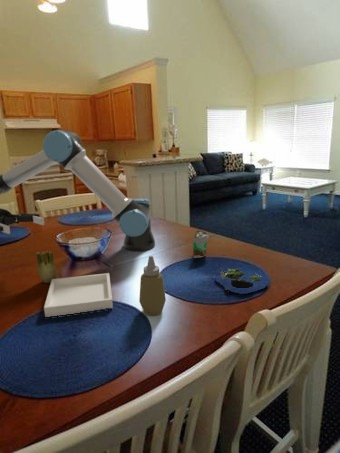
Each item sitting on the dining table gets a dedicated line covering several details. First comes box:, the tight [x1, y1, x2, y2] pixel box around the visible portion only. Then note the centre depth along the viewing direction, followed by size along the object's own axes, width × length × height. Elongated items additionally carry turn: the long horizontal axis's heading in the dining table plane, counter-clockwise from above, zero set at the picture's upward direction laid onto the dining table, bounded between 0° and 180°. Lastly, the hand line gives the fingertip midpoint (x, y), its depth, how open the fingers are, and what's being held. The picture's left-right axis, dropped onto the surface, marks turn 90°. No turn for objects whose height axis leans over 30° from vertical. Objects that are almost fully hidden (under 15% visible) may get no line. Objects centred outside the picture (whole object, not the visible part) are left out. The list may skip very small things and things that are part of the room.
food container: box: [192, 229, 210, 257], centre depth 142 cm, size 12×6×10 cm, turn 168°
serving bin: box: [43, 272, 114, 317], centre depth 108 cm, size 20×20×4 cm
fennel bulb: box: [35, 250, 58, 284], centre depth 119 cm, size 6×5×12 cm
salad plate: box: [220, 268, 261, 291], centre depth 118 cm, size 19×18×5 cm
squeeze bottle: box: [138, 255, 167, 316], centre depth 97 cm, size 8×8×18 cm
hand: (26, 225), depth 121 cm, fingers open, 13 cm apart
